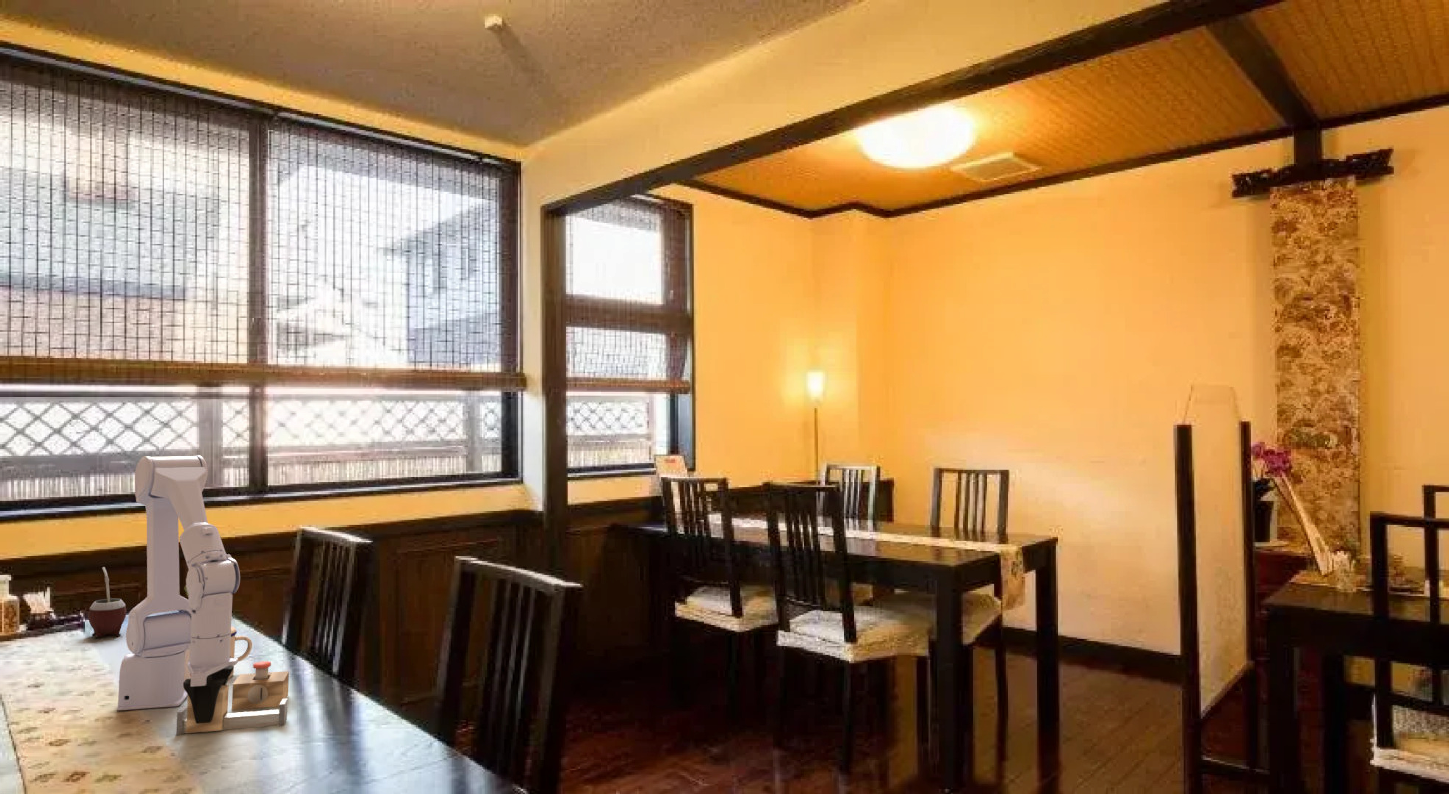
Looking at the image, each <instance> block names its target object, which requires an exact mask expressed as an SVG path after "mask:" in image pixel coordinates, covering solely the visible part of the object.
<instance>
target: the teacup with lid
mask: <svg viewBox="0 0 1449 794" xmlns="http://www.w3.org/2000/svg"><path fill="white" fill-rule="evenodd" d="M237 633H238V632H237V629H236V627H234V626H232V625H231V641H230V658H235V651H236V650H235V648H236V647H235V646H236V641H245V642H247V643H246V644H247V648H246V650H245V652H244V653H243V654H242V655H240V656H238V657H237V658H238V663H239V662H241V661H243V660H245V659H246V658H247V657H248V656H249V655H250V653H251V651H252V648H253V642H252V639H250V638H249V637H248V636H246V635H237ZM189 661H190V645H189V650H185V673H184V681H185V680H186V679H191V673H190V671H189V670H188V663H189ZM232 666H234V668H233V671H232V672H231V674H230V676H229V678H228V679H230V678H232V676H234V672H235V665H232Z"/></svg>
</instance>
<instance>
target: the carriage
mask: <svg viewBox="0 0 1449 794" xmlns="http://www.w3.org/2000/svg"><path fill="white" fill-rule="evenodd" d="M229 687H230V686H229V684H226V685H223V686H221V688H220V690H219V693H218V696H217V700H216V705H215V710H214V715H213V718H212V721H211V722H210V723H198V724H197V723H196V721H195V717H194V712H193V708H192V703H191V700H190V698H189V696H187V701H186V702H187V704H186V706H187V726H186V733H185V734H192V733H205V732H214V731H223V730H222V728H223V715H224V714H227V713H228V708H229Z"/></svg>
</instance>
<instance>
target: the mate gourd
mask: <svg viewBox="0 0 1449 794" xmlns="http://www.w3.org/2000/svg"><path fill="white" fill-rule="evenodd" d="M101 570H102V571H103V573H104V575H103V576H104V582H105V587H106V590H105V591H106V599H98V600H95V601H93V603H92V604H91V606H90V607H89V610H88V614H87V619H88V622H89V624H90V627H91V628H92V629H93V633H91V635H92V637H94V639H95V640H101V639H104V638H107V637H113V638H114V637H116V638H117V637H121V636H122V633H121V629H122V626H123V624H124V622H125V619H126V617H127V607H126V603H125V602H124V601H123V600H122V598H111V595H110V594H111V593H110V584H109V583H110V578H109V576H108V572H107V569H106V567H105V566H103V567H101Z"/></svg>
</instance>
